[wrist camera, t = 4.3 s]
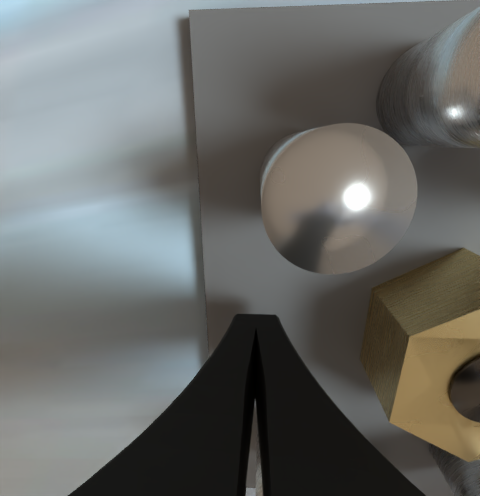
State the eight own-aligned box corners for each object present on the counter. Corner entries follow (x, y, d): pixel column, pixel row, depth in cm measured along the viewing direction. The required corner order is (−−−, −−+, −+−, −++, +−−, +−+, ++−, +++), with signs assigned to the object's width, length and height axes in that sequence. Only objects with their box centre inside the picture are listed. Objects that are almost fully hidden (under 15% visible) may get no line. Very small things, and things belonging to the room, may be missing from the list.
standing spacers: (666, 34, 7) (1187, -100, 3) (473, 489, 12) (566, 639, 9) (261, 46, 7) (265, -55, 3) (255, 476, 13) (254, 613, 9)
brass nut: (550, 248, 9) (666, 290, 6) (493, 395, 11) (563, 470, 8) (378, 246, 9) (424, 285, 6) (354, 389, 11) (382, 461, 8)
